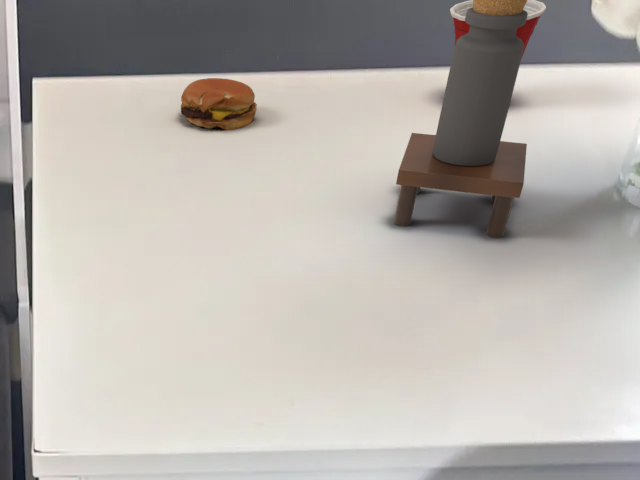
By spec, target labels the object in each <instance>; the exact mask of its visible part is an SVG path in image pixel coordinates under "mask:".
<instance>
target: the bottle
mask: <svg viewBox="0 0 640 480" xmlns="http://www.w3.org/2000/svg"><path fill="white" fill-rule="evenodd" d="M526 2H527V0H473V7H472V8H470V9H468V10H467V12H466V17H465V22H466V23H467V24H469V25H470V29H469V33H467V34H465V35H463V36H461V37H460V38H459V39H458V40H457V41H456V44H455V43H454V48H453V53H452V57H451V62H450V67H449V72H448V75H447V80H446V85H445V89H444V94H443V98H442V99H443V100H442V104H441V109H440V114H439V119H438V123H437V128H436V132H435V135H436V137H435V142H434V147H433V155H434V157H435V158H437V159H438V160H440V161H443V162H446V163H450V164H454V165H461V166H480V165H486V164H489V163H492V162H493V161H494V160H495V158H496V155H497V151H498V148H499V144H500V141H502V136H503V132H504V128H505V125H506V122H507V121H506V120H507V116H508V113H509V108H510V106H511V101H512V97H513V93H514V90H515V85H516V82H517V77H518V72H519V70H520V66H521V61H522V59H521V57H522V58H523V56H522V53H523V49H524V43H523V42H522V40H521V39H520V38H519V37H517V36H516V32H517V28H519V27H522V26H523V25H525V23H526V20H527V16H528V13H527V12H526V11H525V10H523V9H524V6H525V4H526Z"/></svg>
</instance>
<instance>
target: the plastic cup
mask: <svg viewBox="0 0 640 480" xmlns="http://www.w3.org/2000/svg"><path fill="white" fill-rule="evenodd" d="M472 7H473V0H465V1H463V2H460V3H459V2H458V3H456V4H454V5H453V6H452V7H450V8H449V13H450V15H451V17H452V19H453V25H454V45H455V44H456V41H457V40H458V39H459V38H460V37H461V36H463V35H465V34H467V33H469V29H470V25H469V24H467V23H466V22H465V17H466V12H467V10H468V9H470V8H472ZM546 9H547V6H546V4H545V3H544V2H542V1H539V0H527V2H526V4H525V6H524V9H523V10H525V11H526V12H527V13H528V16H527V20H526V23H525V25H523V26H522V27H519V28H517V32H516V36H517V37H519V38H520V39H521V40H522V42H523V43H524V49H523V53H522V57H521V60H522V58H523V57H524V54H525V51H526V49H527V46H528V45H529V41H530V39H531V37H532V36H533V33H534V30H535V28H536V26H537V25H538V22H539V19H540V18H541V16H542V15H543V14H544V13H545V12H546Z"/></svg>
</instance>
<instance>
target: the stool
mask: <svg viewBox="0 0 640 480" xmlns="http://www.w3.org/2000/svg"><path fill="white" fill-rule="evenodd" d="M435 137H436V134H428V133H419V132H418V133H417V132H411V134H410V138H409V140H408V143H407V145H406V148H405V151H404V153H403V157H402V159H401V161H400V165H399V168H398V172H397V177H396V183H395V184H396V185H397V186H400V187H399V191H398V192H399V193H398V196H397V197H398V198H397V202H396V208H395V211H394V217H393V225H395V226H397V227H410V225H411V223H412V218H413V213H414V209H415V204H416V199H417V195H418V194H420V193H421V189H422V188H423V189H431V190H440V191H441V190H442V191H450V192H458V193H467V194H477V195H486V196H491V198H490V203H492V208H491V212H490V216H489V219H488V224H487V228H486V231H485V235H486V236H487V237H488V238H491V239H502V238H504V236H505V233H506V230H507V229H506V228H507V225H508V221H509V219H510V214H511V210H512V206H513V203H514V199H520V198H521V195H522V191H523V187H524V184H525V175H526V159H527V158H526V157H527V146H528V144H527V143H526V142H525V143H524V142H514V141H513V142H512V141H502V140H500V144H499V148H498V151H497V155H496V158H495V160H494V161H493V162H492V163H489V164H486V165H480V166H461V165H454V164H450V163H446V162H443V161H440V160H438V159H437V158H435V157H434V155H433V147H434V142H435Z"/></svg>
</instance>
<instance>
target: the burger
mask: <svg viewBox="0 0 640 480" xmlns="http://www.w3.org/2000/svg"><path fill="white" fill-rule="evenodd" d="M255 98H256V95H255V92H254V91H253V89H252V88H251V87H250V86H249V85H248V84H245V83H244V82H242V81H238V80H234V79H229V78H221V77H219V78H218V77H209V78H201V79H196V80H194V81H192V82H190V83H189V84H188V85H187V86H186V87H185V88H184V89H183V92H182V94H181V98H180V101H181V104H180V114H181V115H182V116H183V117H184V118H185V120H187V122H189V124H192V125H195V126H197V127H203V128H205V129H207V130H210V129H215V128H221V129H222V130H225V131H233V130H237V129H242V128H245V127H247V126H249V125H250V124H251V123H252V121H253V120H254V118H255V115H256V112H257V109H258V108H257V107H258V106H257V105H258V104H257V103H256V102H255Z"/></svg>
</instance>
